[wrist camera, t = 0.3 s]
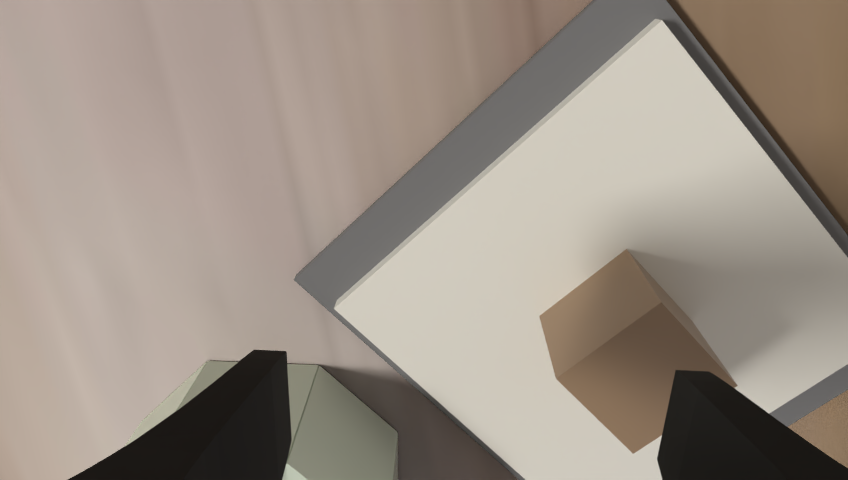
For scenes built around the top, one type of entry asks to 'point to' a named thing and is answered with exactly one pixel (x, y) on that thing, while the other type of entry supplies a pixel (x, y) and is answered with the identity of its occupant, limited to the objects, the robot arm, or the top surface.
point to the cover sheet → (577, 220)
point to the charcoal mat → (504, 125)
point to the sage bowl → (311, 426)
